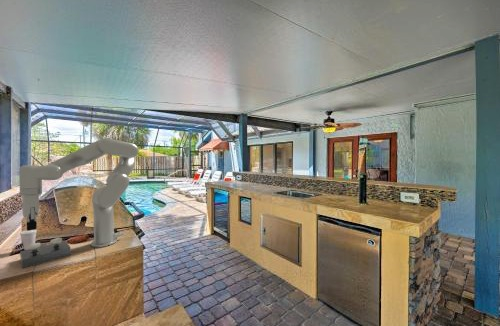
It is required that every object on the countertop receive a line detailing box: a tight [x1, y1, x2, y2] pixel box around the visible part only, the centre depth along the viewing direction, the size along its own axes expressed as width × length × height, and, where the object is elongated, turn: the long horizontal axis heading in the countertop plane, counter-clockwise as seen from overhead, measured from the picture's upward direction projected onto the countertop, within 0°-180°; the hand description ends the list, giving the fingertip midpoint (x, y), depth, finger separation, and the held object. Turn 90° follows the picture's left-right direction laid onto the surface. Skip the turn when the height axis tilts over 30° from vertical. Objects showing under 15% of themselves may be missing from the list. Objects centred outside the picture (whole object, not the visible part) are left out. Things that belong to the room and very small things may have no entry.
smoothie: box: [19, 229, 38, 251], centre depth 117 cm, size 6×6×14 cm
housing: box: [19, 240, 72, 269], centre depth 109 cm, size 17×12×4 cm
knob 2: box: [49, 237, 63, 248], centre depth 112 cm, size 4×4×5 cm
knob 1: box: [28, 242, 42, 253], centre depth 106 cm, size 4×4×5 cm
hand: (31, 229), depth 105 cm, fingers closed
